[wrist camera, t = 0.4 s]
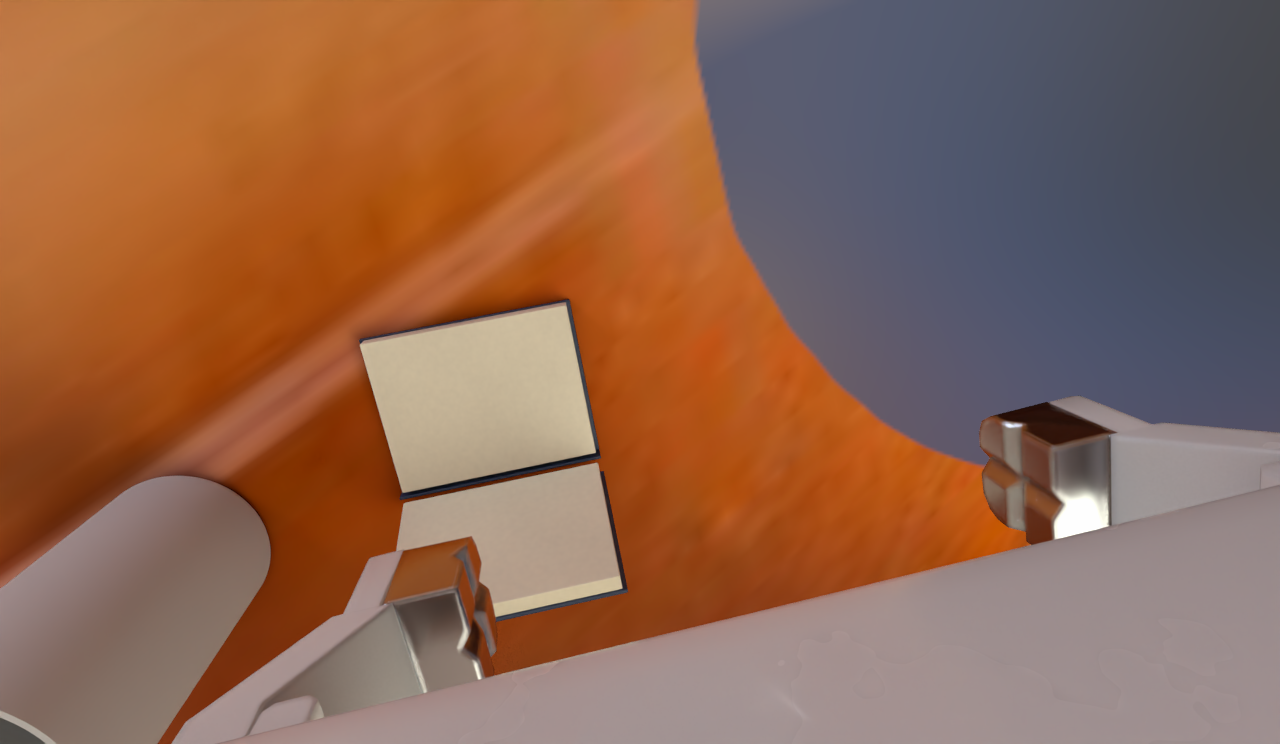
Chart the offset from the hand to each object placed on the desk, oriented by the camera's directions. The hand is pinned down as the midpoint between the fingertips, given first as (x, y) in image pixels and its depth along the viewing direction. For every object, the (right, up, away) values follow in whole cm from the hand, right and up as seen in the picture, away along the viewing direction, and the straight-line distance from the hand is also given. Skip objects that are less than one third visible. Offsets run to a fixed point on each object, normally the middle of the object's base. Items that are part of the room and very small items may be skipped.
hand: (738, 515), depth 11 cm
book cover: (-11, -9, +41) cm, 44 cm away
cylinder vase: (-37, -11, +47) cm, 61 cm away
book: (-14, 0, +46) cm, 48 cm away
